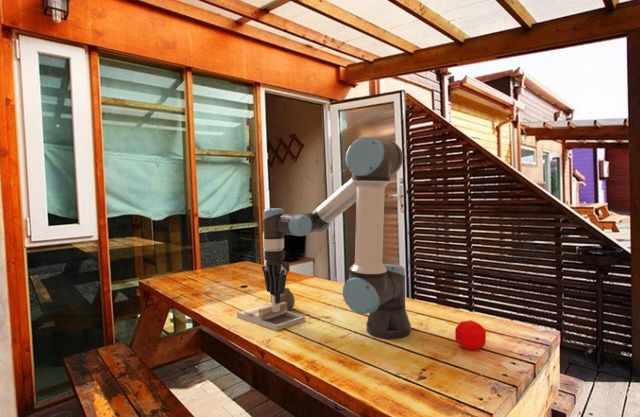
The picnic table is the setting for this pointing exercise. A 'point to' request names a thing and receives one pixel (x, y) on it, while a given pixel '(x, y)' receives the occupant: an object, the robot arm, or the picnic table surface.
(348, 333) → the picnic table surface
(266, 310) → the cover
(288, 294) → the vase
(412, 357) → the picnic table surface
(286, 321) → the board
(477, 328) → the ball
